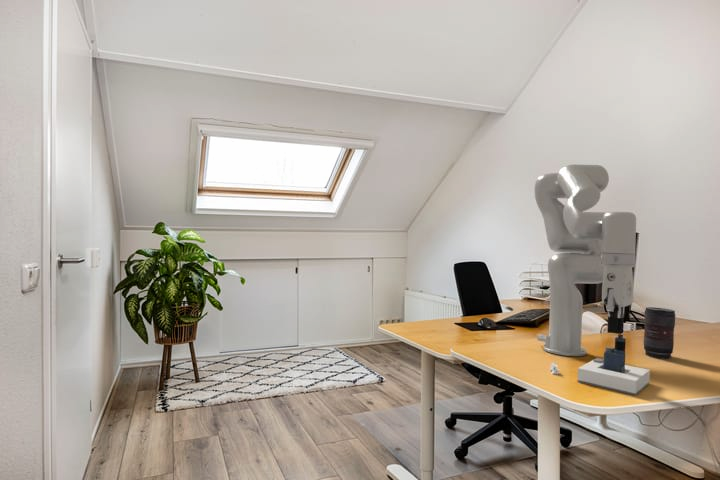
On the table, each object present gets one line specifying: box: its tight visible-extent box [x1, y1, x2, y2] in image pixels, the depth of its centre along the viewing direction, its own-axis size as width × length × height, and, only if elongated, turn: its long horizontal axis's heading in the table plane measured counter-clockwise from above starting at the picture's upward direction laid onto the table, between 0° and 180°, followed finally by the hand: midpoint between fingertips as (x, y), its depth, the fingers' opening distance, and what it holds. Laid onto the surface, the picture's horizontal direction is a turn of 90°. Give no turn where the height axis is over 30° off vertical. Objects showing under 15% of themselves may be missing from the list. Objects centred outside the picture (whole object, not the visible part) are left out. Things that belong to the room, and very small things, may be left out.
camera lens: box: [643, 306, 676, 360], centre depth 143 cm, size 8×8×15 cm
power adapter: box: [549, 362, 560, 375], centre depth 123 cm, size 3×3×3 cm
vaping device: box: [602, 333, 627, 373], centre depth 116 cm, size 3×5×12 cm, turn 27°
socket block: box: [577, 357, 651, 396], centre depth 116 cm, size 13×13×4 cm
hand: (615, 332), depth 115 cm, fingers closed
